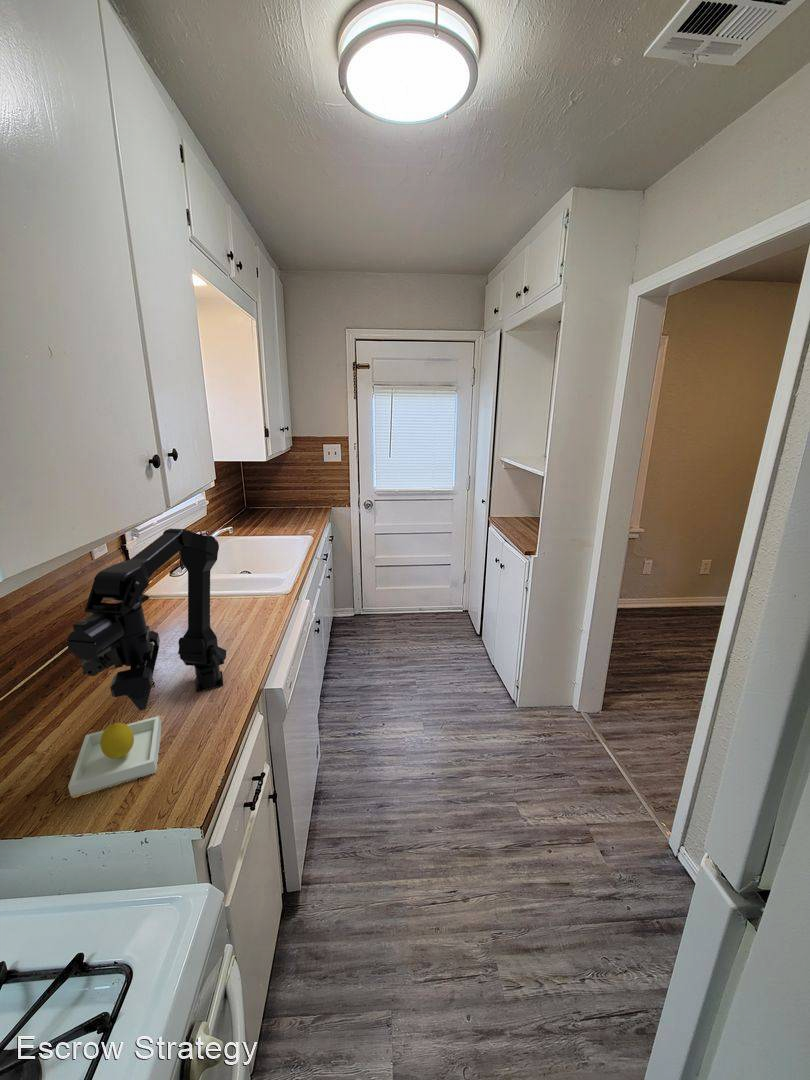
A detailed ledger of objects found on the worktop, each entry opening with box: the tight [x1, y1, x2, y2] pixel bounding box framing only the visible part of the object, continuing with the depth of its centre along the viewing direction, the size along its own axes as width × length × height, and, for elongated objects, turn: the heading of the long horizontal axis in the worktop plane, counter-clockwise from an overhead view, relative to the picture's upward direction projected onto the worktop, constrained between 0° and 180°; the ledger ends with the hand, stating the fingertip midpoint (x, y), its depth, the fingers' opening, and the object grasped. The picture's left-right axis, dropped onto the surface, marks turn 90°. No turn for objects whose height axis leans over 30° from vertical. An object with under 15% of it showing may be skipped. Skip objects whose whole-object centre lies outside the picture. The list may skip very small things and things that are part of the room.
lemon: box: [100, 722, 134, 759], centre depth 85 cm, size 6×6×8 cm
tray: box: [67, 715, 162, 798], centre depth 86 cm, size 14×14×3 cm
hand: (145, 695), depth 88 cm, fingers open, 9 cm apart
